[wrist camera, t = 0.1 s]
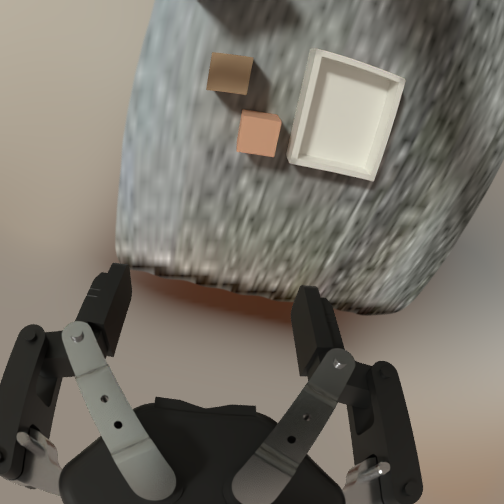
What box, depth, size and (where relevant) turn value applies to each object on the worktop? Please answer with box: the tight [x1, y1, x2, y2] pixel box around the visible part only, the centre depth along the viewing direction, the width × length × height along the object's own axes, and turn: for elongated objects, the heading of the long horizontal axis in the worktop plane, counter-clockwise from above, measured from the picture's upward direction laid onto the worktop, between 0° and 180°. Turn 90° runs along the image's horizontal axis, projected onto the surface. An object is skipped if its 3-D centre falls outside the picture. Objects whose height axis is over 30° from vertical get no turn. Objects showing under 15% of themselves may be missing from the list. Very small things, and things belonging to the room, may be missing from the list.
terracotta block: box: [237, 109, 282, 157], centre depth 35 cm, size 4×4×4 cm
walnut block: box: [206, 52, 253, 95], centre depth 31 cm, size 4×4×4 cm
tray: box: [286, 49, 406, 181], centre depth 34 cm, size 15×12×4 cm
